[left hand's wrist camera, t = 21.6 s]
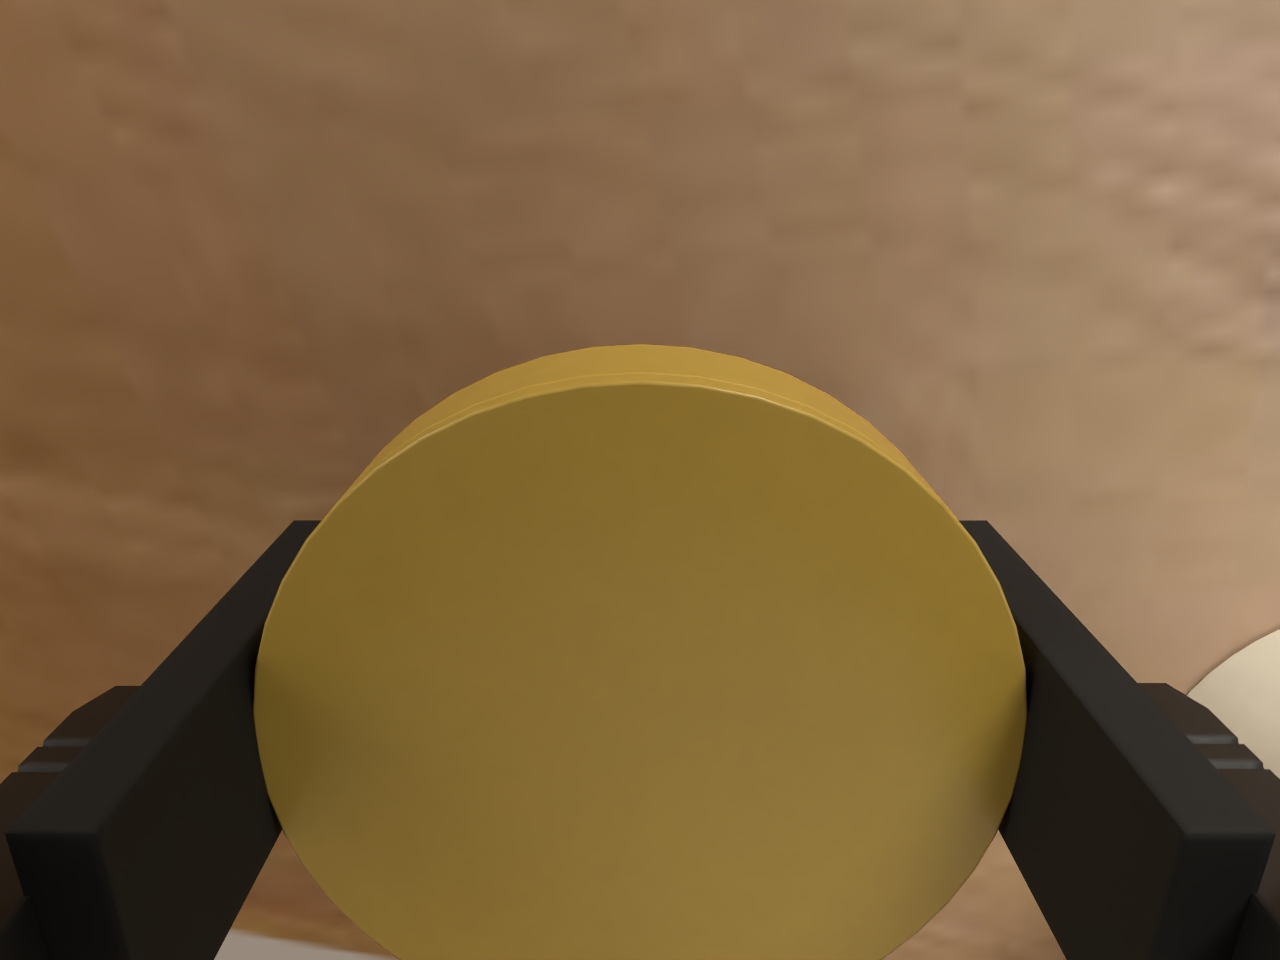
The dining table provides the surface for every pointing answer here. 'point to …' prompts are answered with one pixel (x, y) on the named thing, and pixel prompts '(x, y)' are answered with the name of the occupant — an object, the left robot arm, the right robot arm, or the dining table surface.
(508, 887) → the lid
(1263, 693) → the jar
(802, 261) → the dining table surface
